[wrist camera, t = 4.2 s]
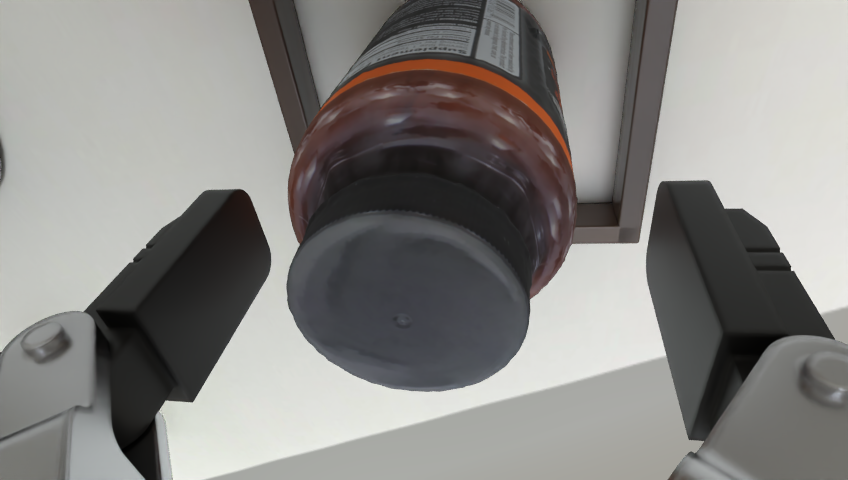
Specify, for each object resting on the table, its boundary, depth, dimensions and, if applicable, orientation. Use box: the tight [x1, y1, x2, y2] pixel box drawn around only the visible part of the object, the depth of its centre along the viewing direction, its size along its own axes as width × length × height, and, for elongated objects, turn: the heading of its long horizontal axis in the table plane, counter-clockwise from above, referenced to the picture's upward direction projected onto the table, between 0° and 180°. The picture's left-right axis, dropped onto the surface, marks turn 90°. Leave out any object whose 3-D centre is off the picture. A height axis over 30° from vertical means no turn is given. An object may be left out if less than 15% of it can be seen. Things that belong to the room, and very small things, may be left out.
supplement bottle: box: [287, 0, 577, 392], centre depth 13 cm, size 6×6×11 cm
